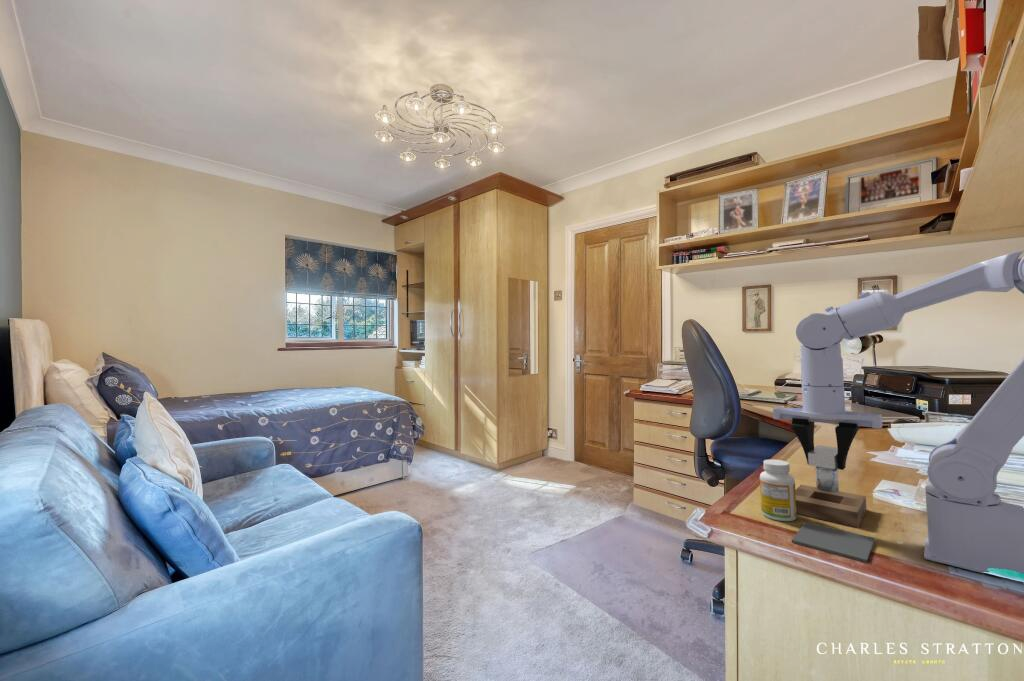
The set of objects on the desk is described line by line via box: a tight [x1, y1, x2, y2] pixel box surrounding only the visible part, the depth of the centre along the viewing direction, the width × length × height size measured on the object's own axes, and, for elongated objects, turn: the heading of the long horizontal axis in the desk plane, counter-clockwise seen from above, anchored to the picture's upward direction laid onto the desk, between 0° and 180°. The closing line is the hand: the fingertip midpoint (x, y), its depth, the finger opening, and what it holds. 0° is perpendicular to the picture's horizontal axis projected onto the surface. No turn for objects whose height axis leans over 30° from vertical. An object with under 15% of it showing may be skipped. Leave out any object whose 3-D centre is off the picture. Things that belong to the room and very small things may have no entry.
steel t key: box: [808, 444, 840, 492], centre depth 69 cm, size 7×4×6 cm, turn 132°
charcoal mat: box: [791, 521, 876, 563], centre depth 64 cm, size 9×9×1 cm
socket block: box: [795, 484, 867, 528], centre depth 76 cm, size 10×10×2 cm
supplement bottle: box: [759, 458, 798, 522], centre depth 74 cm, size 5×5×10 cm
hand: (826, 465), depth 69 cm, fingers closed on steel t key, 3 cm apart
